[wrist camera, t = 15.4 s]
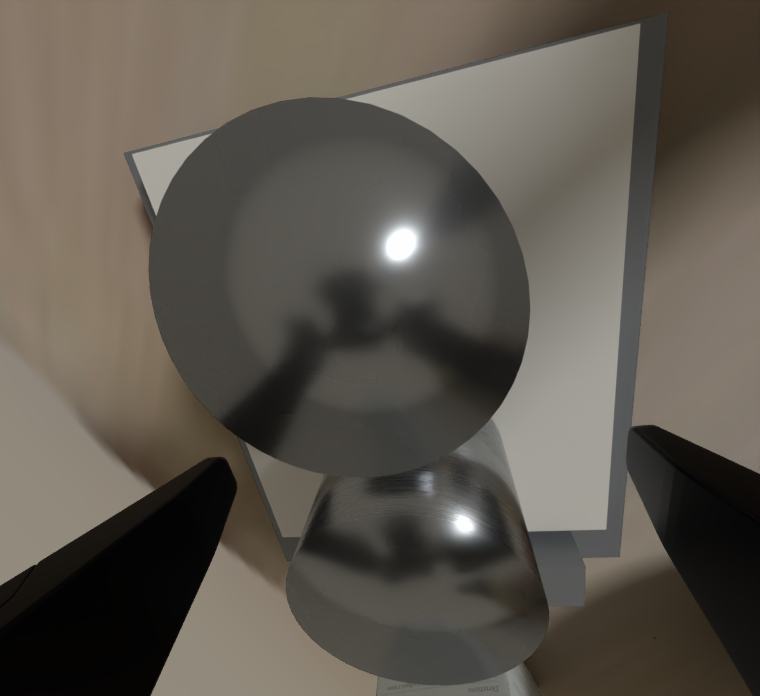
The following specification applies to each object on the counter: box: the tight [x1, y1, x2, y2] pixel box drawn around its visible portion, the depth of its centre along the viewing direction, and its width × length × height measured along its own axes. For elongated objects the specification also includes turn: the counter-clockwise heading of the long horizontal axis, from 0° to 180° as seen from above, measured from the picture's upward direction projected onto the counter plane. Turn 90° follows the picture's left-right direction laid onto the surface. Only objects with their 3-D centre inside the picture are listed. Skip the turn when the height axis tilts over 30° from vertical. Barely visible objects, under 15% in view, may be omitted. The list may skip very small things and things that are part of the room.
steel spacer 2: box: [286, 418, 549, 685], centre depth 10 cm, size 6×6×5 cm
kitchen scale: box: [124, 12, 669, 607], centre depth 12 cm, size 14×17×4 cm
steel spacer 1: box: [149, 97, 530, 478], centre depth 7 cm, size 6×6×5 cm
